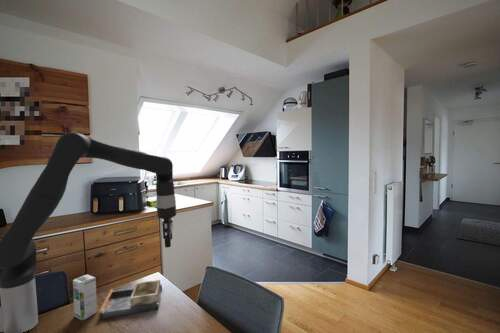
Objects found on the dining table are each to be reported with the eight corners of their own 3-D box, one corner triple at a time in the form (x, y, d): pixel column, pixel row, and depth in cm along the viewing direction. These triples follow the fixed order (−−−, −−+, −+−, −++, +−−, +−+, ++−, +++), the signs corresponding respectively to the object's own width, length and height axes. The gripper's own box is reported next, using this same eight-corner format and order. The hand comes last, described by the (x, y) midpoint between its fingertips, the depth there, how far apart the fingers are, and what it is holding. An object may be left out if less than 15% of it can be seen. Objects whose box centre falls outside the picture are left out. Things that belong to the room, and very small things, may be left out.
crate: (130, 309, 98) (130, 298, 98) (136, 293, 109) (136, 282, 109) (157, 305, 100) (157, 294, 100) (160, 289, 112) (160, 279, 111)
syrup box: (73, 316, 95) (71, 280, 94) (89, 307, 101) (87, 273, 100) (82, 321, 93) (79, 283, 92) (98, 312, 98) (96, 276, 97)
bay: (99, 319, 94) (98, 311, 93) (111, 296, 108) (110, 289, 108) (158, 310, 99) (157, 302, 98) (162, 288, 114) (161, 282, 113)
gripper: (158, 202, 109) (161, 238, 110) (154, 210, 95) (157, 251, 97) (176, 200, 111) (178, 236, 112) (174, 208, 97) (177, 248, 98)
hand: (168, 243), depth 104 cm, fingers open, 8 cm apart
